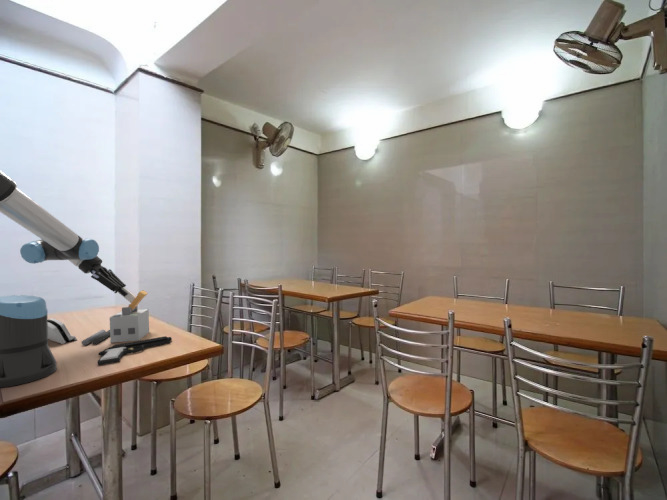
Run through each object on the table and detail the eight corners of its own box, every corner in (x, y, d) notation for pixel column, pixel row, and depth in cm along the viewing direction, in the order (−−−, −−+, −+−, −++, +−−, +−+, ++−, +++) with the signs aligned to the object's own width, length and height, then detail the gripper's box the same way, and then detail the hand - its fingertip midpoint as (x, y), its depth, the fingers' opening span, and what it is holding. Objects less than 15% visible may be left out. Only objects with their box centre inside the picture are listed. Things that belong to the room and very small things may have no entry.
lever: (122, 311, 126) (139, 291, 127) (127, 308, 130) (143, 289, 132) (128, 314, 126) (144, 295, 127) (133, 312, 131) (148, 293, 132)
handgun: (177, 344, 112) (170, 334, 124) (97, 359, 98) (98, 346, 110) (177, 352, 112) (170, 341, 124) (97, 368, 98) (98, 354, 110)
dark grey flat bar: (81, 345, 119) (81, 339, 118) (99, 335, 132) (99, 329, 132) (98, 344, 120) (97, 338, 120) (114, 334, 133) (114, 328, 133)
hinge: (77, 340, 125) (66, 319, 122) (64, 347, 122) (52, 325, 118) (60, 334, 134) (49, 314, 131) (46, 341, 130) (35, 320, 127)
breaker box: (110, 342, 122) (109, 309, 121) (123, 333, 133) (122, 303, 133) (138, 340, 124) (137, 308, 124) (149, 331, 136) (148, 302, 135)
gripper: (85, 254, 119) (135, 296, 123) (101, 253, 131) (146, 291, 136) (69, 268, 117) (120, 310, 122) (87, 266, 130) (132, 303, 135)
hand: (133, 300), depth 129 cm, fingers closed
